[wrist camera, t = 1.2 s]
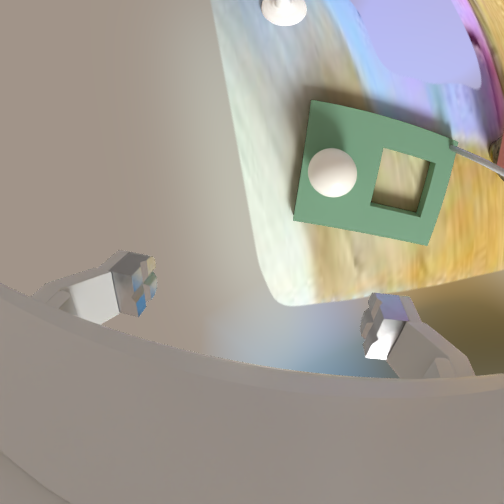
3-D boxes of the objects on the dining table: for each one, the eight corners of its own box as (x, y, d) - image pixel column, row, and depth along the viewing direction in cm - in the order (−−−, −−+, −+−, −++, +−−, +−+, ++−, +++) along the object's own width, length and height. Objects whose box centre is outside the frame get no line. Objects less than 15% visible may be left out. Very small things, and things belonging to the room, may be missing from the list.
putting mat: (314, 74, 25) (326, 54, 14) (456, 117, 24) (527, 136, 12) (293, 215, 34) (289, 281, 23) (423, 240, 33) (465, 305, 21)
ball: (310, 140, 28) (313, 148, 24) (356, 149, 27) (366, 159, 23) (303, 184, 30) (304, 199, 26) (347, 192, 30) (355, 208, 26)
